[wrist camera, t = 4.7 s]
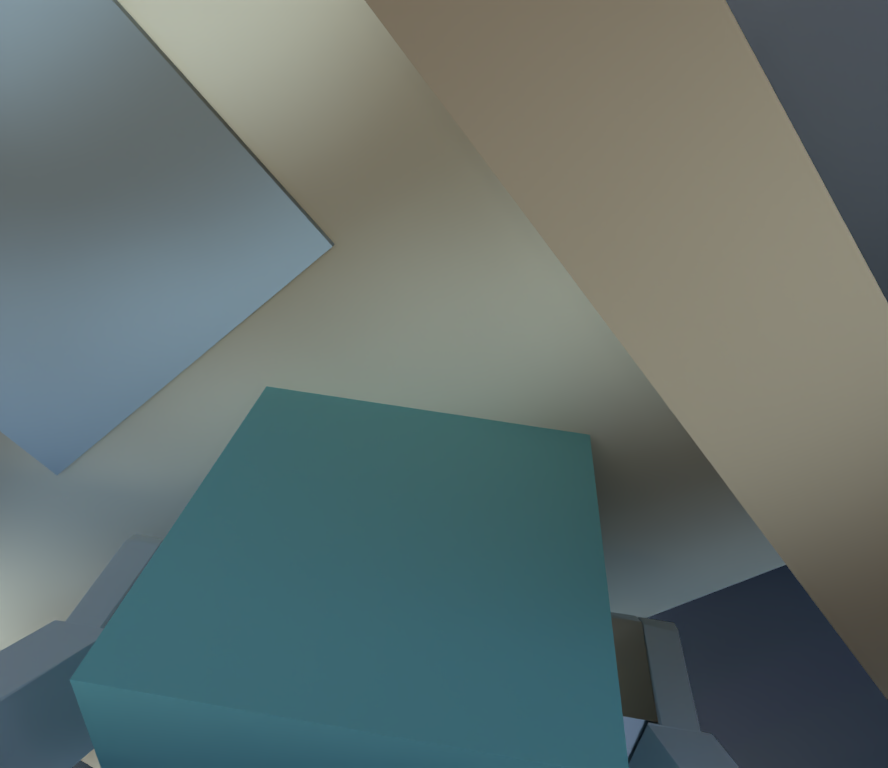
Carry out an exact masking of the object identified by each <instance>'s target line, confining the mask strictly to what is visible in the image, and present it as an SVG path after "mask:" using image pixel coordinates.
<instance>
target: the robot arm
mask: <svg viewBox="0 0 888 768" xmlns="http://www.w3.org/2000/svg"><path fill="white" fill-rule="evenodd" d="M163 540H164V539H163V538H158V537H152V536H147V535H141V534H134V535H133V536H131V537H130V538H129V539H127V540H126V541H125V542H124V543H123V544H122V546H121V547H120V548H119V550H118V551H117V552H116V554H115V555H114V556H113V558H112V559H111V560H110V562H109V563H108V564H107V566H106V567H105V568H104V570H103V571H102V572H101V574H100V575H99V577H98V578H97V579H96V581H95V582H94V583H93V585H92V586H91V587H90V589H89V590H88V591H87V593H86V594H85V595H84V597H83V598H82V599H81V601H80V602H79V603H78V605H77V606H76V607H75V609H74V610H73V611H72V613H71V614H70V615H69V617H68V618H67V619H66V621H58V620H54V621H52V622H51V623H49V624H47V625H45V626H44V627H42V628H40V629H38V630H36V631H35V632H33V633H31V634H29V635H28V636H26V637H24V638H22V639H20V640H19V641H17V642H15V643H13V644H12V645H10V646H8V647H6V648H4V649H3V650H1V651H0V768H72V767H73V766H74V765H75V764H76V763H78V762H79V761H80V760H81V759H82V758H83V757H85V756H86V755H87V754H88V753H89V752H91V751H92V750H93V749H94V747H93V744H92V741H91V739H90V736H89V733H88V730H87V727H86V724H85V722H84V719H83V716H82V713H81V710H80V707H79V705H78V702H77V699H76V696H75V693H74V691H73V688H72V685H71V682H70V678H71V677H72V675H73V674H74V672H75V671H76V669H77V668H78V666H79V665H80V663H81V662H82V660H83V659H84V657H85V656H86V654H87V653H88V651H89V650H90V648H91V647H92V645H93V644H94V643H95V641H96V640H97V638H98V637H99V635H100V634H101V632H102V631H103V629H104V628H105V626H106V625H107V623H108V622H109V620H110V619H111V617H112V616H113V614H114V613H115V611H116V610H117V608H118V607H119V605H120V604H121V602H122V601H123V599H124V598H125V596H126V595H127V593H128V592H129V590H130V589H131V587H132V586H133V584H134V583H135V581H136V580H137V578H138V577H139V575H140V574H141V572H142V571H143V569H144V568H145V567H146V565H147V564H148V562H149V561H150V559H151V558H152V556H153V555H154V553H155V552H156V550H157V549H158V547H159V546H160V544H161V543H162V541H163ZM611 620H612V628H613V637H614V645H615V654H616V662H617V671H618V679H619V688H620V696H621V705H622V713H623V722H624V730H625V739H626V748H627V756H628V765H629V768H739V766H738V765H737V764H736V763H735V762H734V760H733V759H732V758H731V757H730V755H729V754H728V753H727V752H726V750H725V749H724V748H723V747H722V746H721V744H720V743H719V742H718V741H717V739H716V738H715V737H714V736H713V734H711V733H706V732H701V729H700V725H699V720H698V716H697V712H696V707H695V703H694V698H693V694H692V689H691V685H690V680H689V676H688V671H687V667H686V663H685V658H684V654H683V649H682V645H681V640H680V636H679V631H678V629H677V627H676V626H675V624H674V623H673V622H666V621H660V620H654V619H648V618H642V617H636V616H634V615H627V614H620V613H614V612H611Z"/></svg>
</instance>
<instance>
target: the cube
mask: <svg viewBox="0 0 888 768" xmlns="http://www.w3.org/2000/svg"><path fill="white" fill-rule="evenodd" d="M70 682H71V685H72V688H73V691H74V693H75V696H76V699H77V702H78V705H79V707H80V710H81V713H82V716H83V719H84V722H85V724H86V727H87V730H88V733H89V736H90V739H91V741H92V744H93V747H94V750H95V753H96V756H97V758H98V761H99V764H100V767H101V768H629V765H628V756H627V748H626V739H625V730H624V722H623V713H622V705H621V696H620V688H619V679H618V671H617V662H616V654H615V645H614V637H613V628H612V620H611V611H610V602H609V594H608V585H607V577H606V568H605V560H604V551H603V543H602V534H601V526H600V517H599V509H598V500H597V492H596V483H595V475H594V466H593V457H592V449H591V440H590V435H588V434H582V433H575V432H568V431H562V430H555V429H548V428H542V427H535V426H528V425H522V424H515V423H508V422H502V421H495V420H488V419H481V418H475V417H468V416H461V415H455V414H448V413H441V412H435V411H428V410H421V409H415V408H408V407H401V406H395V405H388V404H381V403H375V402H368V401H361V400H355V399H348V398H341V397H335V396H328V395H321V394H315V393H308V392H301V391H295V390H288V389H281V388H274V387H268V386H266V388H265V389H264V391H263V392H262V394H261V395H260V397H259V398H258V400H257V401H256V403H255V404H254V406H253V407H252V409H251V410H250V412H249V413H248V415H247V416H246V417H245V419H244V420H243V422H242V423H241V425H240V426H239V428H238V429H237V431H236V432H235V434H234V435H233V437H232V438H231V440H230V441H229V443H228V444H227V446H226V447H225V449H224V450H223V452H222V453H221V455H220V456H219V458H218V459H217V461H216V462H215V464H214V465H213V467H212V468H211V470H210V471H209V473H208V474H207V476H206V477H205V479H204V480H203V482H202V483H201V485H200V486H199V488H198V489H197V491H196V492H195V493H194V495H193V496H192V498H191V499H190V501H189V502H188V504H187V505H186V507H185V508H184V510H183V511H182V513H181V514H180V516H179V517H178V519H177V520H176V522H175V523H174V525H173V526H172V528H171V529H170V531H169V532H168V534H167V535H166V537H165V538H164V540H163V541H162V543H161V544H160V546H159V547H158V549H157V550H156V552H155V553H154V555H153V556H152V558H151V559H150V561H149V562H148V564H147V565H146V567H145V568H144V569H143V571H142V572H141V574H140V575H139V577H138V578H137V580H136V581H135V583H134V584H133V586H132V587H131V589H130V590H129V592H128V593H127V595H126V596H125V598H124V599H123V601H122V602H121V604H120V605H119V607H118V608H117V610H116V611H115V613H114V614H113V616H112V617H111V619H110V620H109V622H108V623H107V625H106V626H105V628H104V629H103V631H102V632H101V634H100V635H99V637H98V638H97V640H96V641H95V643H94V644H93V645H92V647H91V648H90V650H89V651H88V653H87V654H86V656H85V657H84V659H83V660H82V662H81V663H80V665H79V666H78V668H77V669H76V671H75V672H74V674H73V675H72V677H71V678H70Z"/></svg>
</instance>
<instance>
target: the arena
mask: <svg viewBox="0 0 888 768" xmlns="http://www.w3.org/2000/svg"><path fill="white" fill-rule="evenodd" d="M266 386H268V387H274V388H281V389H288V390H295V391H301V392H308V393H315V394H321V395H328V396H335V397H341V398H348V399H355V400H361V401H368V402H375V403H381V404H388V405H395V406H401V407H408V408H415V409H421V410H428V411H435V412H441V413H448V414H455V415H461V416H468V417H475V418H481V419H488V420H495V421H502V422H508V423H515V424H522V425H528V426H535V427H542V428H548V429H555V430H562V431H568V432H575V433H582V434H588V435H590V440H591V449H592V457H593V466H594V475H595V483H596V492H597V500H598V509H599V517H600V526H601V534H602V543H603V551H604V560H605V568H606V577H607V585H608V594H609V602H610V611H611V612H614V613H620V614H627V615H634V616H636V617H642V618H648V617H650V616H653V615H655V614H658V613H661V612H663V611H666V610H669V609H671V608H674V607H676V606H679V605H682V604H684V603H687V602H689V601H692V600H695V599H697V598H700V597H703V596H705V595H708V594H710V593H713V592H716V591H718V590H721V589H724V588H726V587H729V586H731V585H734V584H737V583H739V582H742V581H744V580H747V579H750V578H752V577H755V576H758V575H760V574H763V573H765V572H768V571H771V570H773V569H776V568H779V567H781V566H784V565H787V566H788V568H789V569H790V570H791V572H792V573H793V574H794V576H795V577H796V578H797V580H798V581H799V582H800V584H801V585H802V586H803V588H804V589H805V590H806V592H807V593H808V594H809V596H810V597H811V598H812V600H813V601H814V602H815V604H816V605H817V606H818V608H819V609H820V610H821V612H822V613H823V614H824V616H825V617H826V618H827V620H828V621H829V623H830V624H831V625H832V627H833V628H834V629H835V631H836V632H837V633H838V635H839V636H840V637H841V639H842V640H843V641H844V643H845V644H846V645H847V647H848V648H849V649H850V651H851V652H852V653H853V655H854V656H855V657H856V659H857V660H858V661H859V663H860V664H861V665H862V667H863V668H864V669H865V671H866V672H867V673H868V675H869V676H870V677H871V679H872V680H873V681H874V683H875V684H876V685H877V687H878V688H879V689H880V691H881V692H882V693H883V695H884V696H885V697H886V699H887V700H888V302H887V301H886V299H885V297H884V295H883V293H882V291H881V289H880V288H879V286H878V284H877V282H876V280H875V278H874V276H873V274H872V273H871V271H870V269H869V267H868V265H867V263H866V261H865V260H864V258H863V256H862V254H861V252H860V250H859V248H858V247H857V245H856V243H855V241H854V239H853V237H852V235H851V233H850V232H849V230H848V228H847V226H846V224H845V222H844V220H843V219H842V217H841V215H840V213H839V211H838V209H837V207H836V205H835V204H834V202H833V200H832V198H831V196H830V194H829V192H828V191H827V189H826V187H825V185H824V183H823V181H822V179H821V178H820V176H819V174H818V172H817V170H816V168H815V166H814V164H813V163H812V161H811V159H810V157H809V155H808V153H807V151H806V150H805V148H804V146H803V144H802V142H801V140H800V138H799V136H798V135H797V133H796V131H795V129H794V127H793V125H792V123H791V122H790V120H789V118H788V116H787V114H786V112H785V110H784V109H783V107H782V105H781V103H780V101H779V99H778V97H777V95H776V94H775V92H774V90H773V88H772V86H771V84H770V82H769V81H768V79H767V77H766V75H765V73H764V71H763V69H762V67H761V66H760V64H759V62H758V60H757V58H756V56H755V54H754V53H753V51H752V49H751V47H750V45H749V43H748V41H747V40H746V38H745V36H744V34H743V32H742V30H741V28H740V26H739V25H738V23H737V21H736V19H735V17H734V15H733V13H732V12H731V10H730V8H729V6H728V4H727V2H726V0H0V651H1V650H3V649H4V648H6V647H8V646H10V645H12V644H13V643H15V642H17V641H19V640H20V639H22V638H24V637H26V636H28V635H29V634H31V633H33V632H35V631H36V630H38V629H40V628H42V627H44V626H45V625H47V624H49V623H51V622H52V621H54V620H58V621H66V619H67V618H68V617H69V615H70V614H71V613H72V611H73V610H74V609H75V607H76V606H77V605H78V603H79V602H80V601H81V599H82V598H83V597H84V595H85V594H86V593H87V591H88V590H89V589H90V587H91V586H92V585H93V583H94V582H95V581H96V579H97V578H98V577H99V575H100V574H101V572H102V571H103V570H104V568H105V567H106V566H107V564H108V563H109V562H110V560H111V559H112V558H113V556H114V555H115V554H116V552H117V551H118V550H119V548H120V547H121V546H122V544H123V543H124V542H125V541H126V540H127V539H129V538H130V537H131V536H133V535H134V534H141V535H147V536H152V537H158V538H163V539H164V538H165V537H166V535H167V534H168V532H169V531H170V529H171V528H172V526H173V525H174V523H175V522H176V520H177V519H178V517H179V516H180V514H181V513H182V511H183V510H184V508H185V507H186V505H187V504H188V502H189V501H190V499H191V498H192V496H193V495H194V493H195V492H196V491H197V489H198V488H199V486H200V485H201V483H202V482H203V480H204V479H205V477H206V476H207V474H208V473H209V471H210V470H211V468H212V467H213V465H214V464H215V462H216V461H217V459H218V458H219V456H220V455H221V453H222V452H223V450H224V449H225V447H226V446H227V444H228V443H229V441H230V440H231V438H232V437H233V435H234V434H235V432H236V431H237V429H238V428H239V426H240V425H241V423H242V422H243V420H244V419H245V417H246V416H247V415H248V413H249V412H250V410H251V409H252V407H253V406H254V404H255V403H256V401H257V400H258V398H259V397H260V395H261V394H262V392H263V391H264V389H265V388H266ZM81 760H82V761H83V762H85V763H87V764H88V765H90V766H92V767H93V768H101V767H100V764H99V761H98V758H97V756H96V753H95V750H94V749H93V750H92V751H91V752H89V753H88V754H87V755H86V756H85V757H83V758H82V759H81Z"/></svg>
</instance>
